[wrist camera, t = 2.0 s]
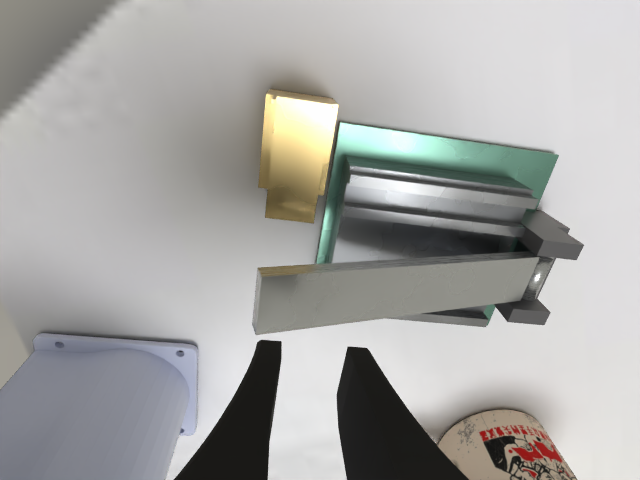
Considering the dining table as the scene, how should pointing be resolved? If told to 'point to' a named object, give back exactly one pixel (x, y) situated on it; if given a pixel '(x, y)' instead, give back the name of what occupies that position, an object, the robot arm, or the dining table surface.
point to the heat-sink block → (427, 201)
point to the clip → (295, 153)
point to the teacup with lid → (504, 448)
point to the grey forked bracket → (543, 241)
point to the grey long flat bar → (391, 288)
